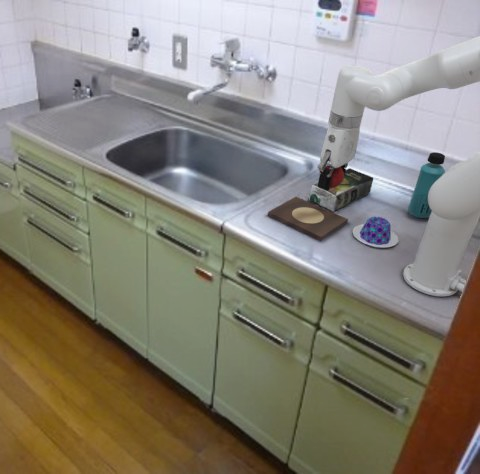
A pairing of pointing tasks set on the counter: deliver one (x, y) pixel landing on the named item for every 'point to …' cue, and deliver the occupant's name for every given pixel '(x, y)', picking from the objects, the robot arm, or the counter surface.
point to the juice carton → (343, 191)
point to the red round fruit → (336, 177)
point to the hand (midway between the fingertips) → (330, 184)
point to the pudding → (376, 233)
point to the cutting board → (308, 218)
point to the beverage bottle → (426, 185)
